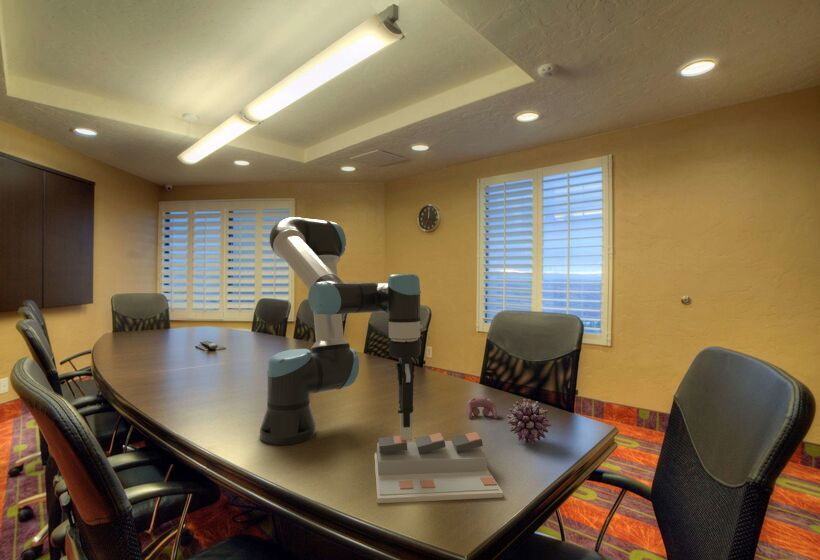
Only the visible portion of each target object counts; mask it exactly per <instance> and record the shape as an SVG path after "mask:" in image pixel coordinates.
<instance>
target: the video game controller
mask: <svg viewBox="0 0 820 560" xmlns="http://www.w3.org/2000/svg"><path fill="white" fill-rule="evenodd" d="M465 407H466V414H467V417H468V419H472V418H473V415H474V416H475V417H478V416H479V415H480V413H481V412H482V415H483V416H485V417H487V416H489V415H490V413H491V414H492V416H493V418H494V419H495V420H496V419H497V418H498V411H497V407H496V404H495V402H494V401H493V400H492V399H491V398H486V397H474V398H470V399H469V400H468V401H467V402H466V406H465ZM480 408H483V409H482V411H481V410H480Z"/></svg>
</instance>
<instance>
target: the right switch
mask: <svg viewBox="0 0 820 560" xmlns="http://www.w3.org/2000/svg"><path fill="white" fill-rule="evenodd" d="M450 440H451V441H452V444H453V446H454V448H455V450H456V451H457V452H461V451H465V450H469V449H473V448H477V447H480V448H481V447H484V444H483V440H482V437H481V436H480V435H479V434H478V432H477V431H473V432H468V433H463V434H460V435H457V436H456V435H455V436H452V437H451V439H450Z"/></svg>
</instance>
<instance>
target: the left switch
mask: <svg viewBox="0 0 820 560" xmlns="http://www.w3.org/2000/svg"><path fill="white" fill-rule="evenodd" d="M407 442H408V440H402V441H401V440H400V435H394V436H392V435H391V436H383V437H378V443H379V451H380V453H387V452H396V451H404V450H407Z"/></svg>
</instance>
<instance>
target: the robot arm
mask: <svg viewBox="0 0 820 560" xmlns="http://www.w3.org/2000/svg"><path fill="white" fill-rule="evenodd" d="M268 239H269V245H270V247H271V249H272V251H273V252H274V254H275V256H277V257H278V258H279V259H282V260H285V262H286V263H287V264H288V266H289V267H290V268H291V269H292V270H293V271H294V273H295V274H296V275H297V277H298V278H299V279H300V281H301V282H302V283H303V284H304V285H305V286H306V288H307V289H308V290H309V291H308V295H307V296H308V297H307V300H308V304H309V308H310V311H312V312H313V321H314V324H313V325H314V334H315V342H314V343H313V344H312V346H311V350H309V349H308V348H297V349H295V348H293V349H292V348H291V349H287V350H284V351H280V352H277V353H276V354H273V355H272V356H271V357H270V358H269V360H268V367H267V372H266V376H267V396H266V397H267V398H266V399H267V400H266V401H267V403H266V406H267V407H266V411H265V413H264V417H263V420H262V422H261V426H260V428H259V439H260V440H261V441H262V442H264V443H266V444H268V445H269V444H270V445H274V446H284V445H294V444H299V443H302V442H306V441H307V440H309V439H311V438H313V437H314V436H315V435H316V432H317V431H316V427H317V425H316V421H315V418H314V414H313V410H312V408H311V395H312V394H317V393H323V392H329V391H333V390H341V389H343V388H348V387H350V386H352V385H354V383H355V382H356V380H357V378H358V376H359V371H360V359H359V355H358V354H357V352H356V350H354V349H353V348H351V347H350V342H349V341H348V340H347V339H345V336H344V327H343V317H342V315H344V314H365V313H368V314H369V313H370V314H371V313H387V314H388V338H389V339H390V340H389V341H388V354H389V356H390V357H392V358H395V359H398V362H396V363H395V366H396V367H395V368H396V370H397V372H396V373H397V374H396V375H397V378H396V379H397V381H398V405H399V409H398V410H397V414H399V436H400V440H401V441H402V440H406V441H411V440H413V412H414V379H415V374H414V373H415V364H414V362H413V361H412V359H413V358H418V357H419V356H421V353H422V347H421V346H422V345H421V344H422V343H421V340H420V339H419V338H421V329H423V327H424V326H423V324H421V293H422V292H421V286H420V285H421V284H420V278H419V275H417V274H414V273H406V274H405V273H400V274H397V273H396V274H390V275H389V276H388V280H387V282H355V281H354V282H344V281H342V280H341V279H340V278H339V276H338V269H337V265H338V263H339V262H340V260H341V257H342V256H343V254H345V251H346V246H347V237H346V234H345V231H344V230H343V228H342V227H341V225H340V224H338V223H336V222H333V221H330V220H325V219H323V220H322V219H314V218H313V219H312V218H304V217H300V216H299V217H298V216H296V217H295V216H291V217H286V218H283V219H281V220H280V221H278V222H277V223H276V224H275V225H274V226H273V227H272V229H271V230H270V234H269V238H268Z"/></svg>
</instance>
